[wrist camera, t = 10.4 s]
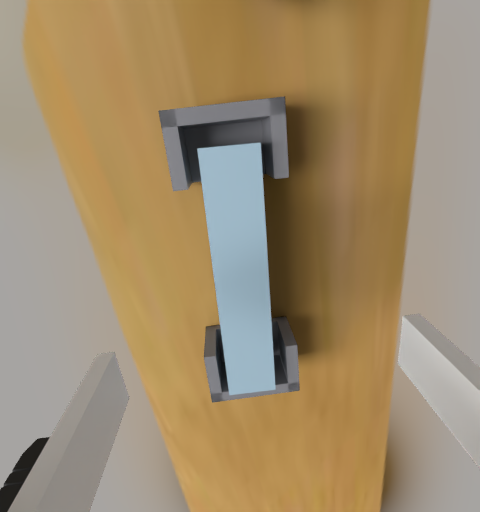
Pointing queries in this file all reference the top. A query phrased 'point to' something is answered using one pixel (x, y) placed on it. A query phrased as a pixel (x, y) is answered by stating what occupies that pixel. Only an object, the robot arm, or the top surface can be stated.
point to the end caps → (188, 170)
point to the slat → (240, 262)
